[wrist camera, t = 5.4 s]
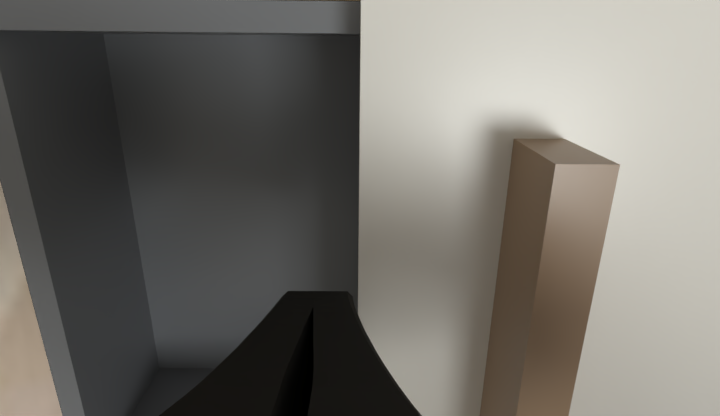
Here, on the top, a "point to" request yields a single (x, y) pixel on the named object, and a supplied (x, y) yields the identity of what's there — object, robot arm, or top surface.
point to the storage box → (174, 180)
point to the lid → (542, 204)
